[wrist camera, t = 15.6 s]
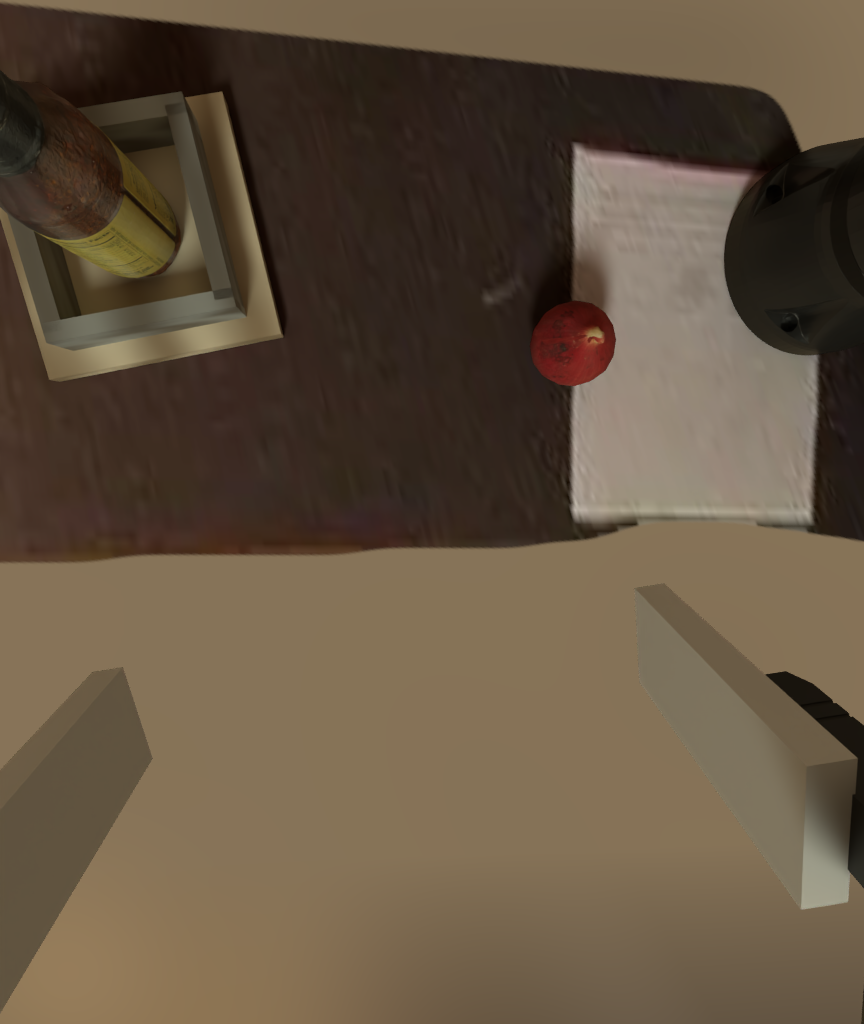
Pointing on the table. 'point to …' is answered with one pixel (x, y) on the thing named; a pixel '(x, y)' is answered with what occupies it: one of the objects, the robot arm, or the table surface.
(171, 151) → the bottle holder
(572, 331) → the onion
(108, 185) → the sauce bottle
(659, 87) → the table surface
